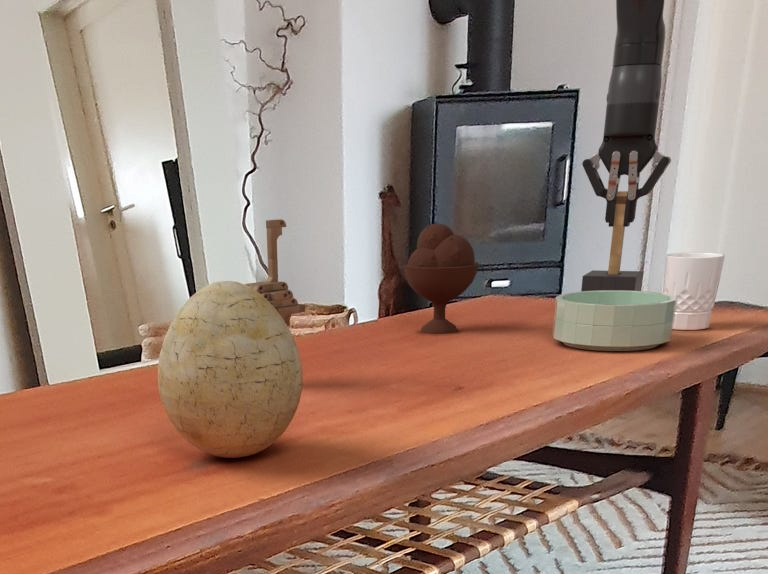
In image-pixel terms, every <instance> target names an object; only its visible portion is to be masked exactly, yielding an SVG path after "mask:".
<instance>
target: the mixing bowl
mask: <svg viewBox="0 0 768 574" xmlns="http://www.w3.org/2000/svg"><path fill="white" fill-rule="evenodd" d="M677 299H678V298H677V297H675V296H673V295H669V294H664V293H663V292H655V291H647V290H646V291H645V290H641V291H628V290H597V291H581V290H580V291H573V292H572V291H571V292H566V293H565V292H564V293H561V294H559V295H557V296H555V300H554V312H553V322H552V323H553V324H552V332H551V336H552V338H553V339H554V340H556V341H559V342H561V343H562V344H563V345H565V346H567V347H570V348H574V349H579V350H587V351H596V352H597V351H600V352H634V351H645V350H651V349H654V348H657V347H659V345H661V344H664V343H667V342H670V341H671V340H672V338H673V334H674V333H673V332H674V329H673V327H674V320H675V313H676V306H677Z"/></svg>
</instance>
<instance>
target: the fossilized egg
mask: <svg viewBox="0 0 768 574" xmlns="http://www.w3.org/2000/svg"><path fill="white" fill-rule="evenodd" d="M156 373H157V387H158V388H157V389H158V393H159V397H160V401H161V404H162V407H163V409H164V412H165V413H166V415H167V417H168V419H169V421H170V423H171V424H172V426H173V427H174V428H175V430H176V431H177V432H178V433H179V435H180V436H181V437H182V438H183V439H184V440H185V441H187V442H188V443H189V444H191V445H192V446H194V447H195V448H196V449H198V450H199V451H202V452H204V453H206V454H209V455H211V456H214V457H219V458H226V459H227V458H228V459H236V458H237V459H238V458H244V457H249V456H253V455H256V454H258V453H259V452H262V451H264V450H265V449H267V448H269V447H270V446H272V444H274V443H275V442H276V441H277V440H278V439H279V438H281V436H282V435H283V434H284V433H285V432H286V430H287V429H288V428H289V426H290V424H291V422H292V421H293V419H294V417H295V415H296V412H297V410H298V407H299V405H300V401H301V397H302V393H303V392H302V391H303V385H304V384H303V379H304V378H303V365H302V361H301V356H300V352H299V348H298V346H297V343H296V340H295V338H294V336H293V333H292V332H291V330H290V328H289V326H287V325H286V323H285V321H284V320H283V318H282V317H281V315H280V314H279V313H278V312H277V310H276V309H275V308H274V307H273V305H272V304H271V303H270V302H269V301H268V300H267V299H266V298H264V297H263V296H262V295H261V294H260V293H258V292H257V291H255V290H254V289H252V288H251V287H249V286H247V285H245V284H244V283H242V282H239V281H233V280H221V281H216V282H215V281H214V282H212V283H209V284H208V285H207V284H206V285H205V286H203V287H202V288H200V289H199V290H197V291H196V292H195V293H193V294H192V295H191V296H190V297H189V298H188V299H187V300H186V302H185V303H184V304H183V305H182V306H181V307H180V309H178V312H177V313H176V315H175V317H174V318H173V319H172V321H171V323H170V325H169V327H168V330H167V332H166V333H165V336H164V338H163V342H162V345H161V349H160V352H159V356H158V364H157V372H156Z"/></svg>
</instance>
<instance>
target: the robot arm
mask: <svg viewBox="0 0 768 574" xmlns="http://www.w3.org/2000/svg"><path fill="white" fill-rule="evenodd" d="M664 8H665V0H615V12H616V17H615V18H616V35H615V41H614V45H613V46H614V48H613V58H612V66H611V67H612V68H611V72H610V73H611V74H610V78H609V82H608V88H607V94H606V106H605V117H604V118H605V119H604V120H605V121H604V128H603V136H602V142H601V145H600V146H599V148H598V152H597V153H595V154H594V155H592V156H591V157H589V158H586V159H584V160H583V161H582V163H581V165H582V167H583V169H584V172H585V175H586V176H587V179H588V181H589V183H590V185H591V187H592V190H593V191H594V194H595V195H596V197H601V198H603V199H605V201H606V205H605V216H604V221H605V223H606V224H607V223H608V228H611V227H612V228H613V224H614V215H615V206H616V196H617V192H618V191H619V186H620V182H621V178H622V177H621V176H624V175H625V176H627V185H628V186H627V191H628V201H626V206H625V214H624V223H623V227H625V228H626V227H630V225H631V223H632V224H633V223H634V222H635V220H636V213H637V206H638V205H637V204H638V200H639V199H641V198H642V197H645V196H647V195H649V194H650V193H651V192H652V190H653V189H654V187H655V186H656V184H657V183H658V181H659V180H660V179H661V178H662V176H663V174H664V172H665V171H666V170H667V168H668V167H669V165H670V164H671V162H672V159H671V157H670V156H668V155H667V156H666V155H664V154H663V153H661V152H660V151H658V145H657V143H656V131H657V122H658V115H659V107H660V98H661V91H662V90H661V89H662V81H663V80H662V75H663V74H662V73H663V70H662V69H663V60H664V52H665V44H666V43H665V42H666V24H665V21H664V20H665V19H664ZM652 159H653V162H652V168H653V171H652V172H651V173H650V175H649V177H648V178H647V179H646V181H645V183H644V184H643V186H642V187H641V188H639V187H640V181H641V180H640V179H641V178H640V177H641V173H642V172H643V170H644V169H645V168H646V167H647V165H648V164H649V163H650V161H651V160H652ZM600 160H601V162H602V163H603V165H604V167H605V169H606V170H607V172H608V180H607V181H608V182H607V188H606V187H605V185H604V183H603V180H602V178H601V175H600V174H599V171H598V170H599V169H600V167H601V164H600Z"/></svg>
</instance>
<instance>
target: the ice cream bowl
mask: <svg viewBox="0 0 768 574" xmlns="http://www.w3.org/2000/svg"><path fill="white" fill-rule="evenodd" d="M479 266H480V263H479V262H476V259H475V251H474V248H473V246H472V244H471V242H469V240H468V239H467V238H466V237H463V236H462V235H459V234H454V231H453V230H452V229H451V228H450V227H449V226H448V225H446V224H444V223H439V222H438V223H432V224H429V225H427V226H425V228H423V230H422V231H421V232H420V233H419V235H418V237H417V242H416V249H415V250H414V251H413V252H412V253H411V254H410V256H409V258H408V260H407V263H406V264H405V265H403V269H404V270H403V271H404V275H405V279H406V281H407V283H408V286H410V288H411V289H412V290H413V291H414V293H416V294H417V295H418V296H420V297H421V298H422V299H424V300H426V301H429V302H431V304H432V306H433V319H431V320H430V321H428V322H427V323H425V324H424V325H423V326H422V327H421V328H420V332H422V333H426V334H450V333H455V332H457V331H458V329H457V326H456V324H454V323H453V322H451V321H450V320H448V319H447V318H446V308H447V305H448V303H449V302H451V301H453V300H455V299H457V298H458V297H459V296H461V295H463V293H464V292H466V290H467V289H468V288H469V287H470V286H471V285H472V283H473V282H474V280H475V278H476V276H477V273H478V269H479Z"/></svg>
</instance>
